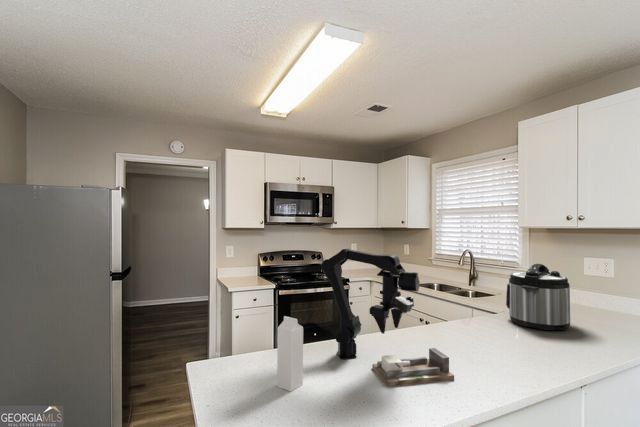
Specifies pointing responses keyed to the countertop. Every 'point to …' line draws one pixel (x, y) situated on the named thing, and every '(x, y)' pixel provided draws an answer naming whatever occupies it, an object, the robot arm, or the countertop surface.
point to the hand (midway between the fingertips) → (389, 330)
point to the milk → (290, 354)
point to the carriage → (393, 363)
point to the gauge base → (418, 370)
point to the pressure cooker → (539, 299)
